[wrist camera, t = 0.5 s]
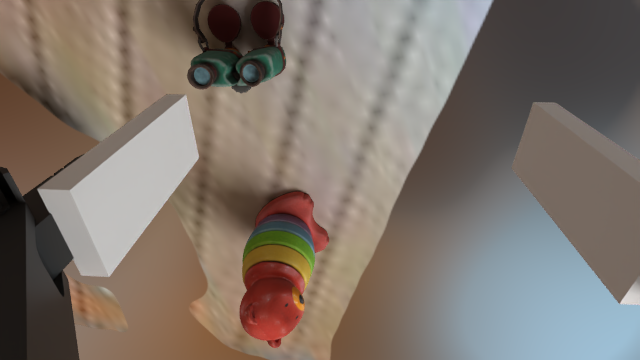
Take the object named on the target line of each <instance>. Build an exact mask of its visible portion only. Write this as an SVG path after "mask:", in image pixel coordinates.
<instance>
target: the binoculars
mask: <svg viewBox="0 0 640 360" xmlns="http://www.w3.org/2000/svg"><path fill="white" fill-rule="evenodd" d="M204 1H205V0H199V2H198V3H197V4H196V8H195V12H194V16H193V22H194V27H193V30H194V31H195V32H196V34H197V35H198V43H199V46H200V48H201V49H202V51H203V53H202V54H200V55H198V56H196V57H194V58H193V59H192V61H191V67H190V69H189V70H188V75H187V76H188V80H189V82H190V84H191V85H192V86H193V87H195V88H197V89H207V88H209V87H210V86H216V87H226V86H232V89H234V90H235V91H236V92H240V93H243V92H247V91H248V90H250V89H251V87H255V86H257V85H258V84H259V83H261V82H265V81H267V80H269V79H271V78H273V77H274V76H277V75H279V74H280V73H281V72H282V71H283V70H284V69H285V66H286V58H285V53H284V50H283V48H282V47H281V46H280V42H281V36H282V28H283V25H284V15H283V11H282V3H281V1H280V0H277V1H278V3H279V6H278V5H276V4H274V3H271V2H268V1H263V2H260V3H258V4H256V5H255V6H254V8H253V10H252V12H251V24H252V26H253V28H254V30H255V32H256V33H257V34H258V35H259V36H260V37H261V38H263V39H266V40H268V44H267V45H265V46H264V47H261V48H256V49H253V50H251V51H248V53H247V54H246V55H245V56H242V54H241V53H240V52H239V51H238V50H237V49H236V48H234V47H233V46H232V41H233V40H235V39H236V37H237V36H238V34H239V32H240V29H241V19H240V16H239V14H238V13H237V11H236V10H234V9H233V8H232V7H230V6H228V5H222V4H221V5H217V6H215V7H213V8H212V9H211V11H210V12H209V15H208V25H209V28H210V30H211V32H212V33H213V35H214V36H215V37H216V38H217V39H219V40H220V41H222V42H225V44H226V47H225V49H209V45H208V41H207V39H206V38H205V36H204V34H203V33H202V32H201V30H200V29H199V23H198V16H199V12H200V8H201V5H202V3H203V2H204ZM278 39H279V40H278ZM205 42H206V46H207V47H204V48H203V47H202V44H201V43H205Z"/></svg>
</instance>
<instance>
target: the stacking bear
mask: <svg viewBox="0 0 640 360" xmlns="http://www.w3.org/2000/svg"><path fill="white" fill-rule="evenodd" d="M313 207H314V203H313V201H312V200H311V198H310V196H309V195H307V194H304V193H303V192H291V193H288V194H284V195H282V196H279V197H277V198H276V199H274V200H272V201H271V202H269V203H268V204H267V205H266V206H264V207H263V209H262V210H261V211H260V212H259V214H258V216H257V218H256V223H255V230H254V231H253V233H252V234H251V236H250V237H249V239H248V241H247V243H246V246H245V249H244V254H243V268H242V276H243V282H244V284H245V287H246V289H247V292H246V293H245V295H244V297H243V299H242V301H241V305H240V320H241V323H242V326H243V328H244V329H245V331H246V332H247V333H248V334H249V335H251V336H252V337H254V338H257V339H260V340H266V341H267V342H268V344H269V345H270V346H271V347H273V348H277V347H279V346H280V344H281V338H282V337H284V336H286V335H287V334H289V333H290V332H291V331H292V330H293V329H294V328H295V327H296V325H297V324H298V323H299V321H300V319H301V318H302V315H303V313H304V307H305V304H304V299H303V296H302V294H303V292H304V290H305V288H306V286H307V284H308V282H309V279H310V276H311V274H312V271H313V267H314V262H315V253H316V252H319V251H322V250H324V249H325V247H326V245H327V244H328V242H329V237H328V233H327V232H326V231H325V230H324V229H323V228H321V227H320V226H319V225H317V223H316V222H315V221H314V218H313V215H312V211H313Z"/></svg>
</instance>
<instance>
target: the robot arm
mask: <svg viewBox="0 0 640 360" xmlns="http://www.w3.org/2000/svg"><path fill="white" fill-rule="evenodd" d="M198 159H199V155H198V150H197V145H196V141H195V136H194V131H193V126H192V121H191V117H190V112H189V107H188V102H187V97H186V95H179V94H166V95H165V96H163V97H162V98H161V99H159V100H158V101H157V102H155V103H154V104H152V105H151V106H150V107H148V108H147V109H146V110H144V111H143V112H142V113H140V114H139V115H137V116H136V117H135V118H133V119H132V120H131V121H129V122H128V123H127V124H125V125H124V126H122V127H121V128H120V129H118V130H117V131H116V132H114V133H113V134H111V135H110V136H109V137H107V138H106V139H105V140H103V141H102V142H101V143H99V144H98V145H96V146H95V147H94V148H92V149H91V150H90V151H88V152H87V153H86V154H83V155H81V156H79V157H77V158H75V159H74V160H72V161H71V162H69V163H68V164H67V165H65V166H64V168H61V169H60V170H58V171H57V172H56V173H54V176H50V177H49V178H47V179H46V180H45V181H43V182H42V183H41V184H39V185H38V186H36V187H35V188H33V189H32V190H31V191H29V192H28V193H27V194H25V195H24V196H22V195H21V193H20V191H19V189H18V187H17V186H16V184H15V182H14V180H13V178H12V176H11V175H10V173H9V171H8V170H7V168H3V167H0V360H79V353H78V346H77V339H76V332H75V326H74V318H73V311H72V303H71V296H70V289H69V282H68V279H67V277H66V275H65V273H64V271H63V269H64V268H65V267H66V266H67V265H68V264H69V262H71V260H72V259H73V260H74V262H75V264H76V266H77V268H78V270H79V272H80V274H81V275H84V276H103V277H109V276H110V275H111V274H112V272H113V271H114V270H115V268H116V267H117V266H118V264H119V263H120V262H121V260H122V259H123V258H124V256H125V255H126V254H127V252H128V251H129V250H130V248H131V247H132V245H134V243H135V242H136V240H137V239H138V238H139V237H140V235H141V234H142V233H143V231H144V230H145V229H146V227H147V226H148V225H149V223H150V222H151V221H152V219H153V218H154V217H155V215H156V214H157V213H158V212H159V210H160V209H161V208H162V206H163V205H164V203H165V202H166V201H167V200H168V198H169V197H170V196H171V194H172V193H173V192H174V190H175V189H176V188H177V186H178V185H179V184H180V182H181V181H182V180H183V179H184V177H185V176H186V175H187V173H188V172H189V171H190V169H191V168H192V167H193V165H194V164H195V163H196V161H197V160H198ZM512 169H513V170H514V172H515V173H516V174H517V176H518V177H519V178H520V179H521V181H522V182H523V183H524V184H525V186H526V187H527V188H528V189H529V191H530V192H531V193H532V194H533V196H534V197H535V198H536V199H537V201H538V202H539V203H540V205H541V206H542V207H543V208H544V210H545V211H546V212H547V213H548V215H549V216H550V217H551V218H552V220H553V221H554V222H555V223H556V225H557V226H558V227H559V228H560V230H561V231H562V232H563V233H564V235H565V236H566V237H567V238H568V240H569V241H570V242H571V244H572V245H573V246H574V247H575V248H576V250H577V251H578V252H579V254H580V255H581V256H582V257H583V259H584V260H585V261H586V262H587V263H588V265H589V266H590V267H591V269H592V270H593V271H594V272H595V274H596V275H597V276H598V278H599V279H600V280H601V281H602V283H603V284H604V285H605V286H606V288H607V289H608V290H609V291H610V293H611V294H612V295H613V296H614V298H615V299H616V300H617V301H618V303H619V304H631V305H640V160H639V159H638V158H636V157H635V156H633V155H632V154H630V153H629V152H627V151H626V150H624V149H623V148H621V147H620V146H618V145H617V144H615V143H614V142H613V141H611V140H609V139H608V138H607V137H605V136H604V135H602V134H601V133H599V132H598V131H596V130H595V129H593V128H592V127H590V126H589V125H587V124H586V123H584V122H583V121H581V120H580V119H579V118H577V117H576V116H574V115H573V114H571V113H570V112H568V111H567V110H565V109H564V108H562V107H561V106H559V105H558V104H557V103H543V102H542V103H541V102H534V103H533V106H532V109H531V112H530V115H529V118H528V121H527V123H526V126H525V130H524V132H523V135H522V138H521V141H520V144H519V147H518V150H517V154H516V157H515V159H514V162H513V165H512Z"/></svg>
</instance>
